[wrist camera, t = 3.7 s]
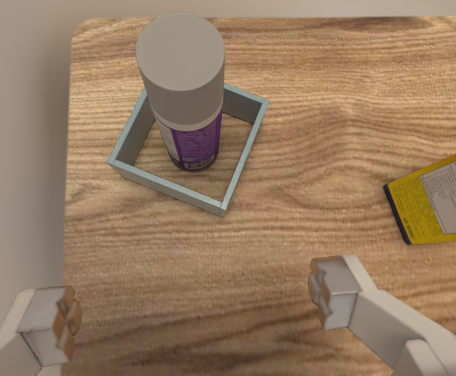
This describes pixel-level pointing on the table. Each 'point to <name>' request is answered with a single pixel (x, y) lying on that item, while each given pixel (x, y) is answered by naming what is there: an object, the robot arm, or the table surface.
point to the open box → (122, 163)
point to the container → (184, 85)
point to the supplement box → (426, 203)
